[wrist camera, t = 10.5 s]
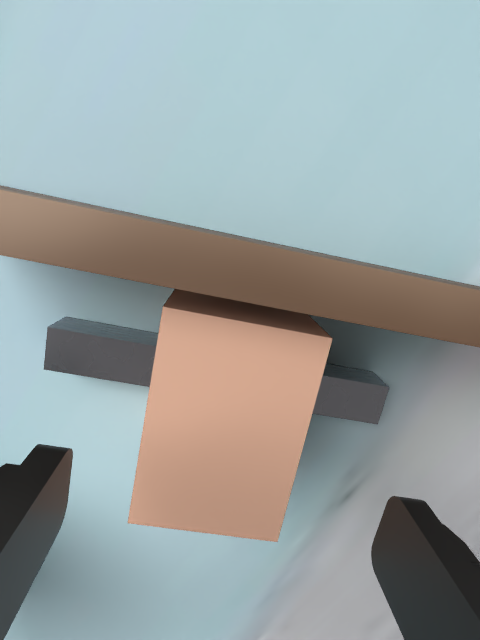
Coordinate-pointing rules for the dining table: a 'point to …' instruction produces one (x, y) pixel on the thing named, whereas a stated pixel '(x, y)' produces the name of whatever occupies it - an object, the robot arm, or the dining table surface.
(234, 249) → the wall board
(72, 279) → the dining table surface
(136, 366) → the rail
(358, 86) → the dining table surface
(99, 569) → the dining table surface
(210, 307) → the cabinet block
